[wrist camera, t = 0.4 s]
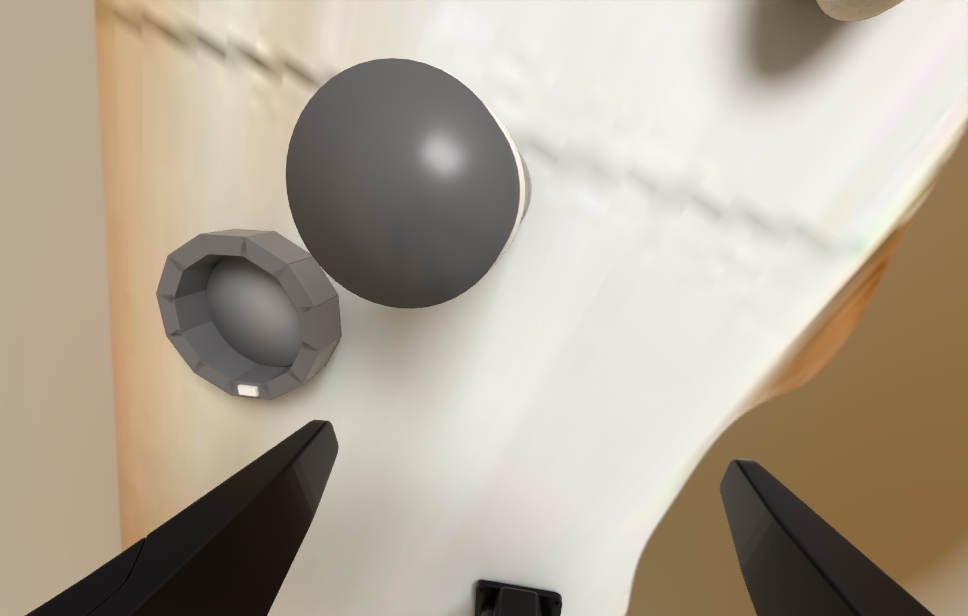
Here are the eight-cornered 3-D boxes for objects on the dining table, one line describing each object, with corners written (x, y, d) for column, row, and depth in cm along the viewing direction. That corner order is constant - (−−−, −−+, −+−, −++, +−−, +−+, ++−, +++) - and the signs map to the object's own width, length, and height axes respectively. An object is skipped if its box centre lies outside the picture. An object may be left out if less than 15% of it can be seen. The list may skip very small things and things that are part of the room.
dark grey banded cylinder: (528, 243, 21) (511, 321, 9) (434, 237, 22) (296, 303, 9) (536, 137, 19) (530, 51, 7) (433, 135, 20) (265, 52, 8)
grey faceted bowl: (345, 386, 26) (324, 408, 23) (210, 371, 27) (176, 390, 24) (332, 235, 22) (306, 241, 20) (180, 225, 24) (137, 230, 21)
